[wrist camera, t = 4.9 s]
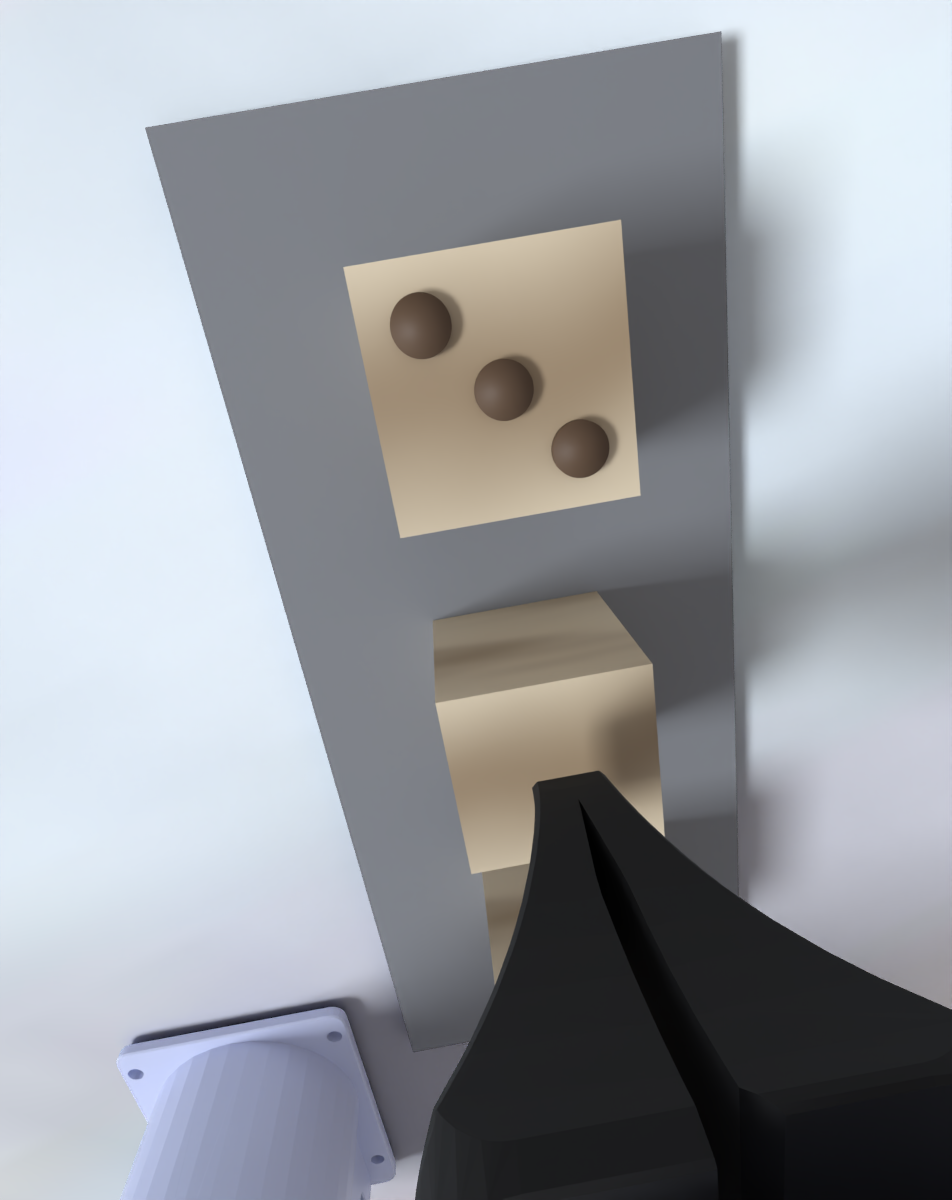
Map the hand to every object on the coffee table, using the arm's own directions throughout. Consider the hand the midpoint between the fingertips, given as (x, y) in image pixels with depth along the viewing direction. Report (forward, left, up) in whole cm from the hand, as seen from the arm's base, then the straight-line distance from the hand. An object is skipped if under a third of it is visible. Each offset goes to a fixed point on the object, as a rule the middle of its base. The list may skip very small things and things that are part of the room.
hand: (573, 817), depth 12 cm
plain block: (0, 0, -6) cm, 6 cm away
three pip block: (+8, 0, -6) cm, 10 cm away
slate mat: (0, 0, -7) cm, 7 cm away
